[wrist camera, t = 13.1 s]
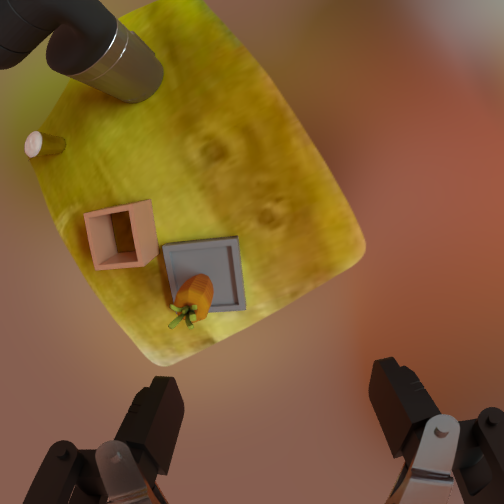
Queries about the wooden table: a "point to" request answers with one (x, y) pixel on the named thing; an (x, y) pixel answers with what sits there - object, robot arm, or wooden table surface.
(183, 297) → the carrot
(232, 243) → the tray
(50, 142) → the milkshake
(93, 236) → the box
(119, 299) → the wooden table surface
